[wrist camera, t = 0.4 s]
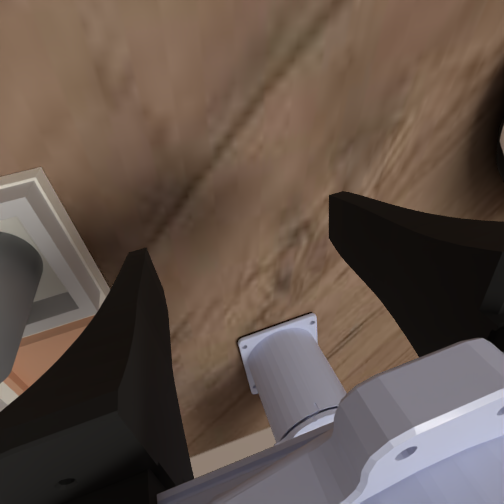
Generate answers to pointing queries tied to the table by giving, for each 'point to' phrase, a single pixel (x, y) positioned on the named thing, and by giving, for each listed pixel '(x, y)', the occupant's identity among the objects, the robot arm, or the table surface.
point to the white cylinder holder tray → (40, 281)
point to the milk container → (500, 150)
